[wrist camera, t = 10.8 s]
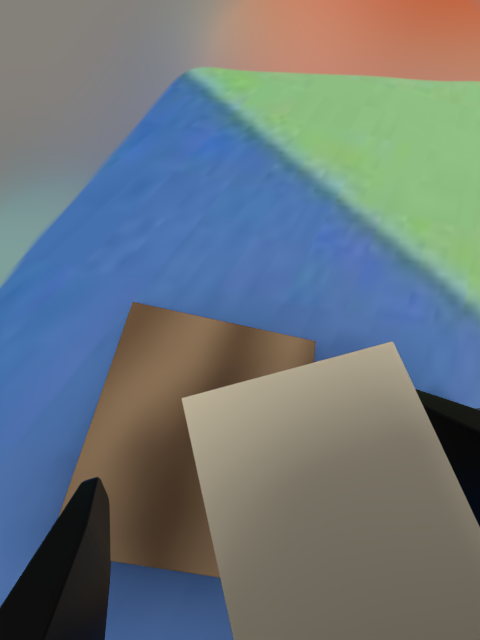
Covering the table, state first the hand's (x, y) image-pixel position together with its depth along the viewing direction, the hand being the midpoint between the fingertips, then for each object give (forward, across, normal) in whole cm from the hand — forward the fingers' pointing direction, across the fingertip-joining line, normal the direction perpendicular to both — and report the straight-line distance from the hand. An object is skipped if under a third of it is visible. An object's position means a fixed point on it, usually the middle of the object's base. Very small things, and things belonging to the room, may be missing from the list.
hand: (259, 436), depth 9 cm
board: (+7, +1, +6) cm, 9 cm away
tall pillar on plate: (+5, 0, +7) cm, 9 cm away
